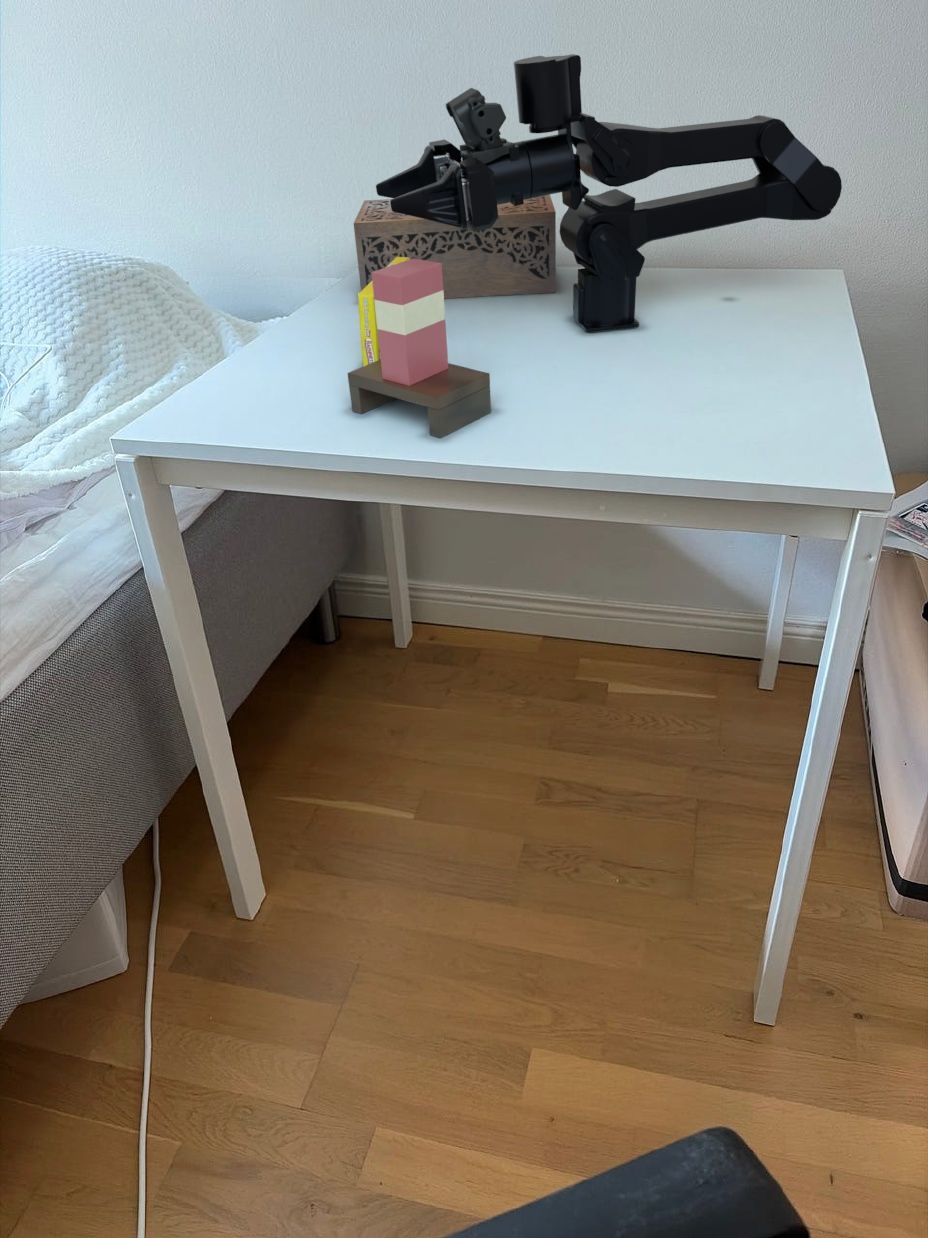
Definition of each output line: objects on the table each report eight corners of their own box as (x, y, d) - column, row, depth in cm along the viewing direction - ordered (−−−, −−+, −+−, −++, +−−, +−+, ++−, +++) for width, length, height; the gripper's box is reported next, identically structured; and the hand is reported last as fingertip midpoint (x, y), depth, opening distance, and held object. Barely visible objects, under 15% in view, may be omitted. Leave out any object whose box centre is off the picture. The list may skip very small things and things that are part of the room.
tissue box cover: (548, 264, 139) (548, 189, 133) (555, 292, 127) (555, 211, 121) (372, 273, 140) (364, 200, 134) (362, 302, 128) (353, 223, 122)
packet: (421, 361, 96) (413, 257, 90) (449, 368, 94) (442, 262, 88) (382, 378, 92) (370, 272, 87) (409, 386, 90) (399, 277, 85)
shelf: (403, 388, 101) (399, 350, 99) (491, 412, 94) (489, 372, 92) (352, 411, 96) (347, 372, 94) (440, 438, 90) (437, 397, 87)
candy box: (381, 370, 106) (372, 294, 101) (362, 370, 106) (353, 294, 102) (416, 324, 119) (410, 255, 114) (399, 324, 119) (393, 255, 115)
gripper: (493, 78, 106) (356, 103, 105) (543, 94, 91) (384, 124, 90) (503, 185, 113) (374, 211, 111) (552, 217, 98) (404, 247, 96)
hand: (383, 197), depth 102 cm, fingers open, 9 cm apart
